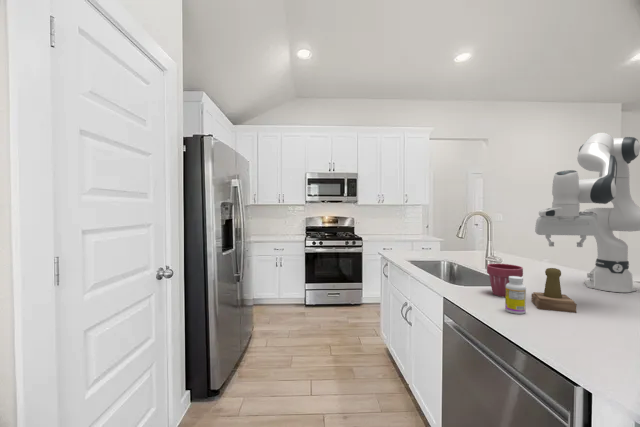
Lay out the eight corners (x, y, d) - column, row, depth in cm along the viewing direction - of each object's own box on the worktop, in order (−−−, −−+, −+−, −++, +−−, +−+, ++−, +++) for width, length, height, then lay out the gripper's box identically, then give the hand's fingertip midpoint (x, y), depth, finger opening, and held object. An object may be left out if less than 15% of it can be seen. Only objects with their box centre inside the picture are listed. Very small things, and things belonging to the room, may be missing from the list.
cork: (557, 294, 138) (558, 267, 138) (565, 298, 132) (565, 270, 132) (540, 294, 139) (541, 266, 139) (547, 297, 133) (548, 269, 133)
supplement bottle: (508, 308, 133) (509, 274, 133) (528, 311, 129) (528, 277, 128) (502, 311, 129) (503, 277, 128) (522, 315, 124) (523, 279, 124)
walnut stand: (531, 301, 143) (531, 291, 143) (565, 304, 139) (566, 294, 139) (538, 309, 132) (538, 298, 132) (576, 312, 128) (576, 301, 128)
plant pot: (521, 300, 144) (522, 270, 144) (484, 295, 152) (485, 266, 151) (522, 293, 156) (523, 265, 156) (488, 289, 164) (488, 262, 163)
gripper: (594, 211, 136) (594, 246, 136) (534, 211, 143) (534, 245, 144) (601, 211, 130) (600, 248, 131) (537, 212, 137) (537, 247, 138)
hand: (565, 246), depth 137 cm, fingers open, 8 cm apart
